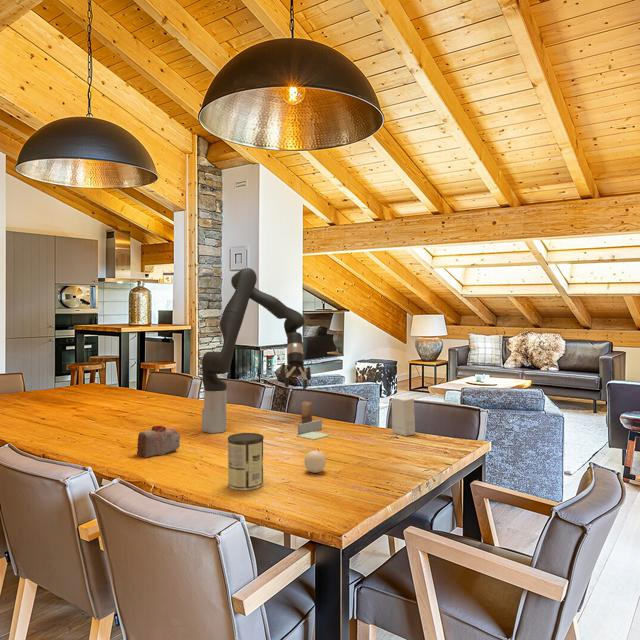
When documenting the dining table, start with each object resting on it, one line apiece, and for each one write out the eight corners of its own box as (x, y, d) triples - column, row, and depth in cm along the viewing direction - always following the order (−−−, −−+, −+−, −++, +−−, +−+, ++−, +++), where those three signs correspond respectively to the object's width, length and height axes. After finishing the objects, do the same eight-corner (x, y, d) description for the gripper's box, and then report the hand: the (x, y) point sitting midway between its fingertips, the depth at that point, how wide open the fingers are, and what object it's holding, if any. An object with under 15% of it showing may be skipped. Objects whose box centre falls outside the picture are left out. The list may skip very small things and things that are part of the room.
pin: (307, 428, 233) (307, 403, 233) (299, 427, 236) (299, 402, 236) (314, 427, 237) (314, 402, 237) (306, 425, 240) (306, 400, 239)
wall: (300, 434, 222) (300, 425, 221) (297, 434, 222) (297, 424, 222) (321, 429, 232) (321, 420, 232) (319, 428, 233) (319, 419, 233)
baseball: (325, 468, 174) (325, 447, 174) (326, 475, 167) (326, 453, 167) (304, 468, 174) (304, 447, 174) (304, 475, 167) (304, 453, 167)
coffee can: (237, 478, 164) (238, 431, 164) (269, 481, 161) (269, 434, 160) (220, 488, 154) (221, 438, 154) (253, 492, 151) (253, 442, 151)
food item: (169, 447, 199) (169, 421, 199) (181, 451, 194) (181, 424, 194) (135, 455, 189) (135, 426, 189) (147, 459, 184) (147, 430, 184)
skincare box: (415, 434, 223) (415, 398, 223) (404, 436, 220) (404, 399, 220) (401, 430, 230) (401, 396, 230) (390, 432, 227) (391, 397, 227)
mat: (313, 440, 213) (313, 439, 213) (296, 436, 219) (296, 435, 219) (329, 435, 221) (329, 434, 221) (312, 432, 226) (312, 431, 226)
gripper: (305, 359, 257) (306, 392, 250) (277, 355, 251) (278, 389, 244) (312, 353, 251) (313, 387, 244) (283, 349, 245) (284, 383, 238)
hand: (295, 388), depth 244 cm, fingers open, 8 cm apart
